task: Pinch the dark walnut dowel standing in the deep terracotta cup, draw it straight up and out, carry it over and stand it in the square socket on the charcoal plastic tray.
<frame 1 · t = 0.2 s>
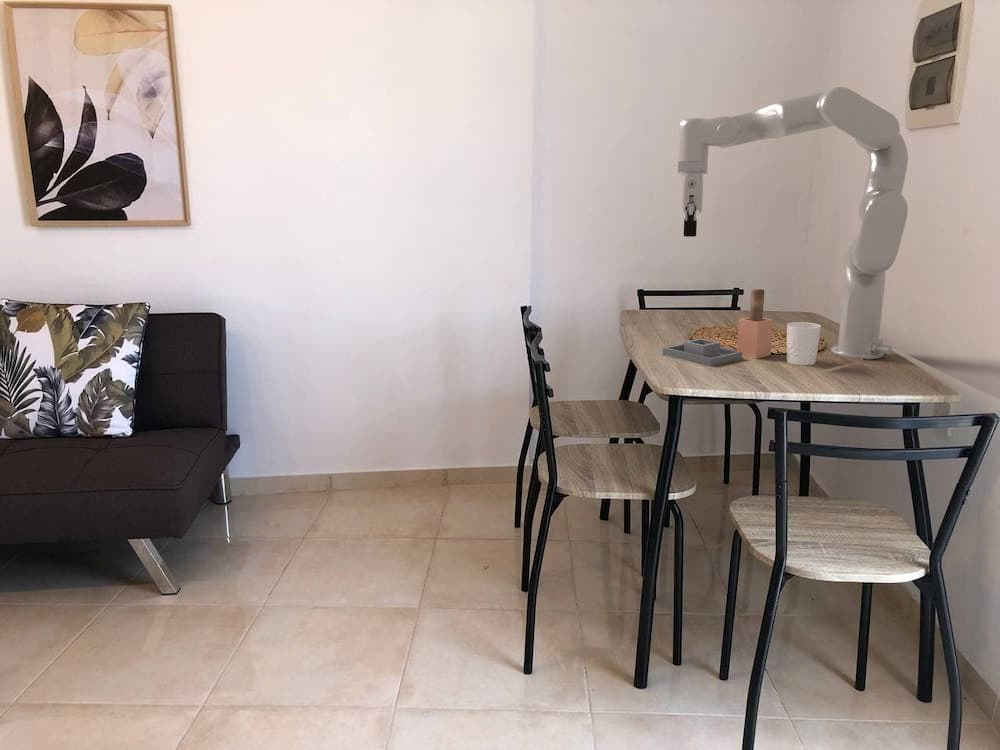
hand: (689, 234, 208), 31 cm above the table, tool pointing down, fingers open, 9 cm apart
white cup: (800, 364, 197), on the table
cup: (753, 356, 205), on the table
dowel: (753, 354, 205), point 1 cm above the table, touching cup
tray: (701, 358, 204), on the table
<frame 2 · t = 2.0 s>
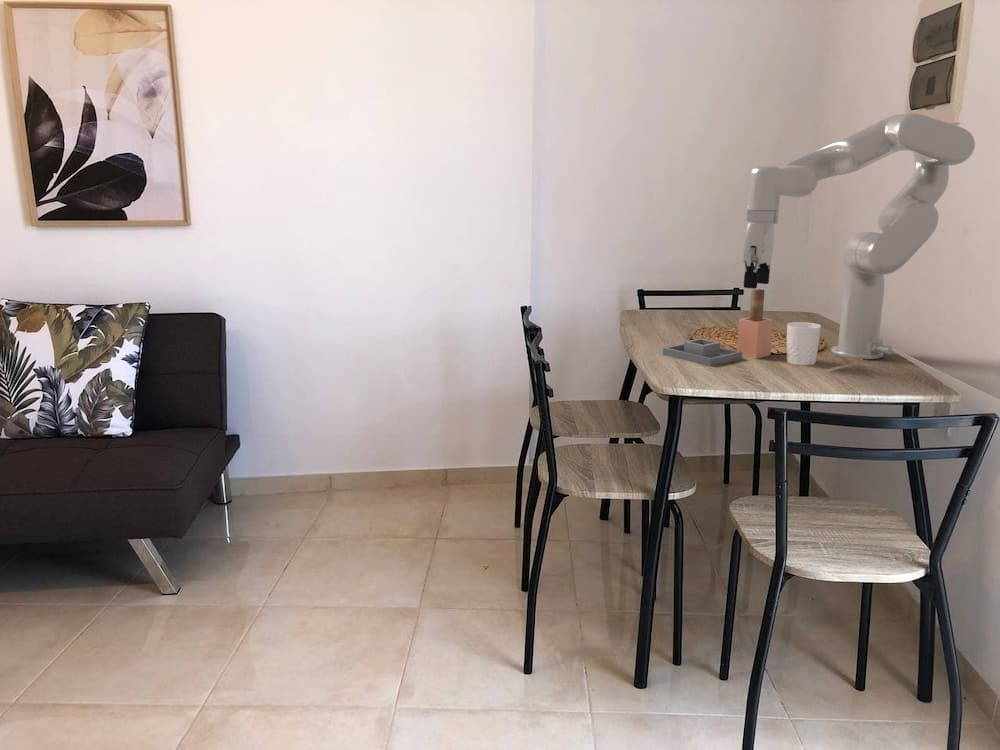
hand: (756, 285, 200), 19 cm above the table, tool pointing down, fingers open, 9 cm apart
nothing on the table moved.
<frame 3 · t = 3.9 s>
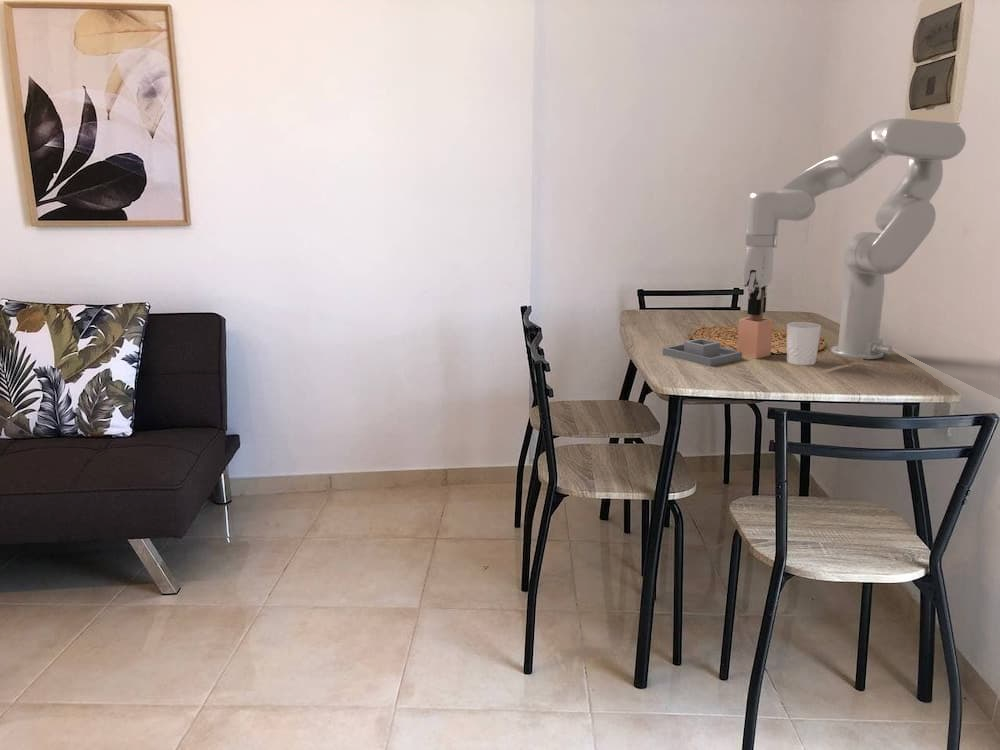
hand: (756, 312, 202), 12 cm above the table, tool pointing down, fingers closed on dowel, 3 cm apart
dowel: (753, 354, 205), point 1 cm above the table, touching cup, gripper
everything else where it was.
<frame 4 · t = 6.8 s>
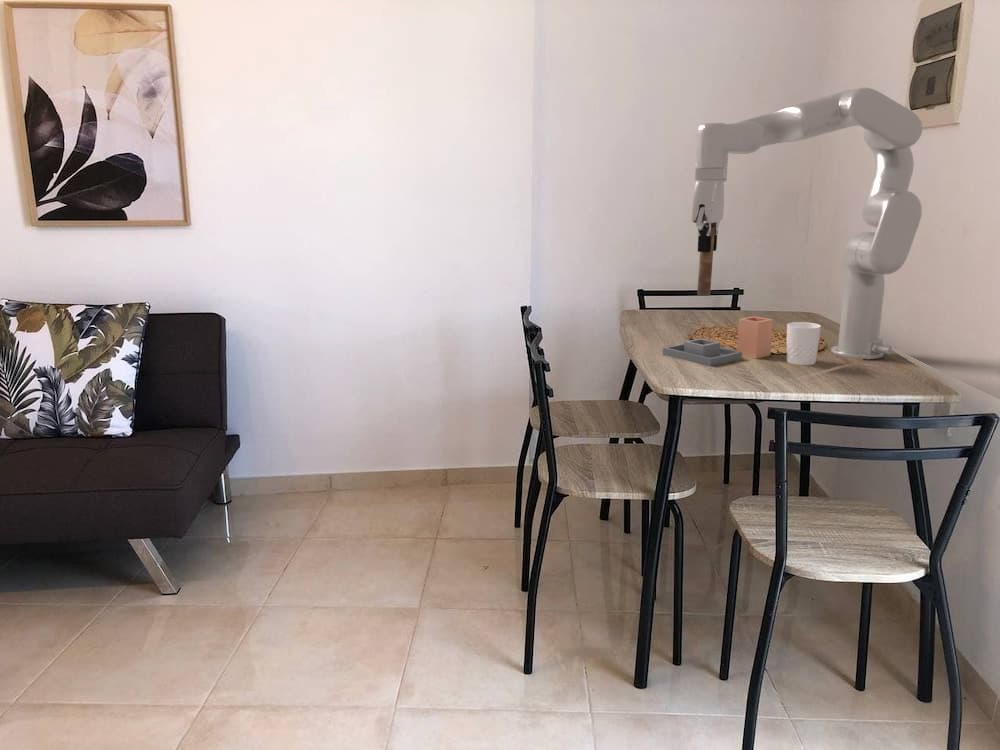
hand: (707, 250, 197), 28 cm above the table, tool pointing down, fingers closed on dowel, 3 cm apart
dowel: (703, 294, 200), point 17 cm above the table, touching gripper
everything else where it was.
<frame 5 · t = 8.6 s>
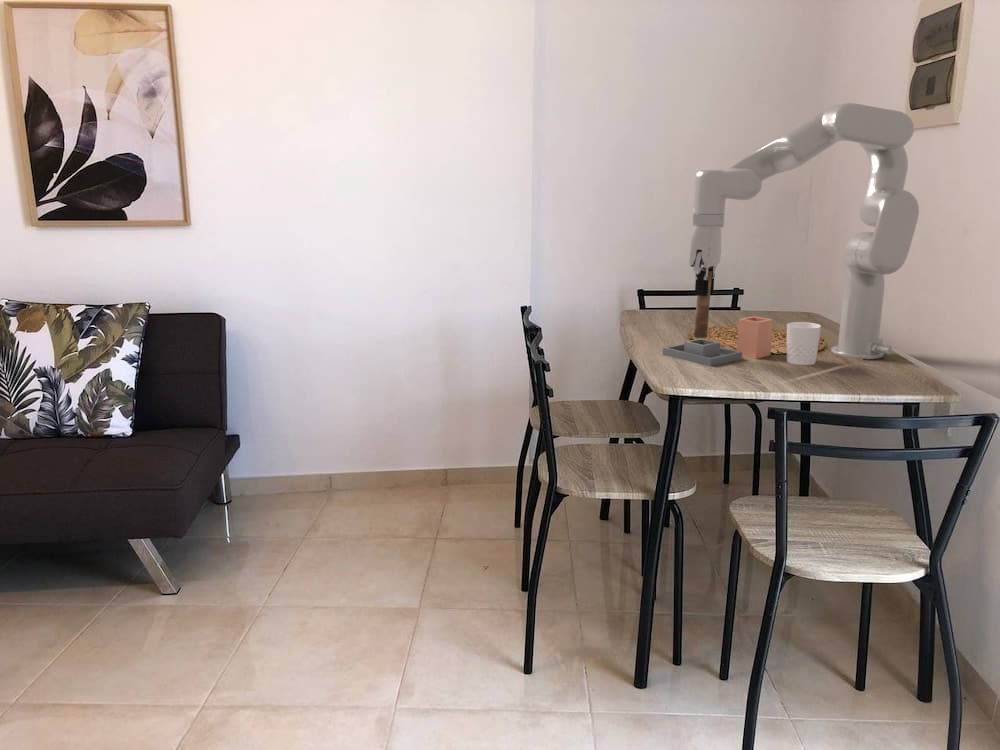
hand: (704, 293, 199), 17 cm above the table, tool pointing down, fingers closed on dowel, 3 cm apart
dowel: (700, 336, 203), point 6 cm above the table, touching gripper
everything else where it was.
when the fingers open (14 cm above the table, at t = 10.0 s): dowel drops 1 cm, resting on tray.
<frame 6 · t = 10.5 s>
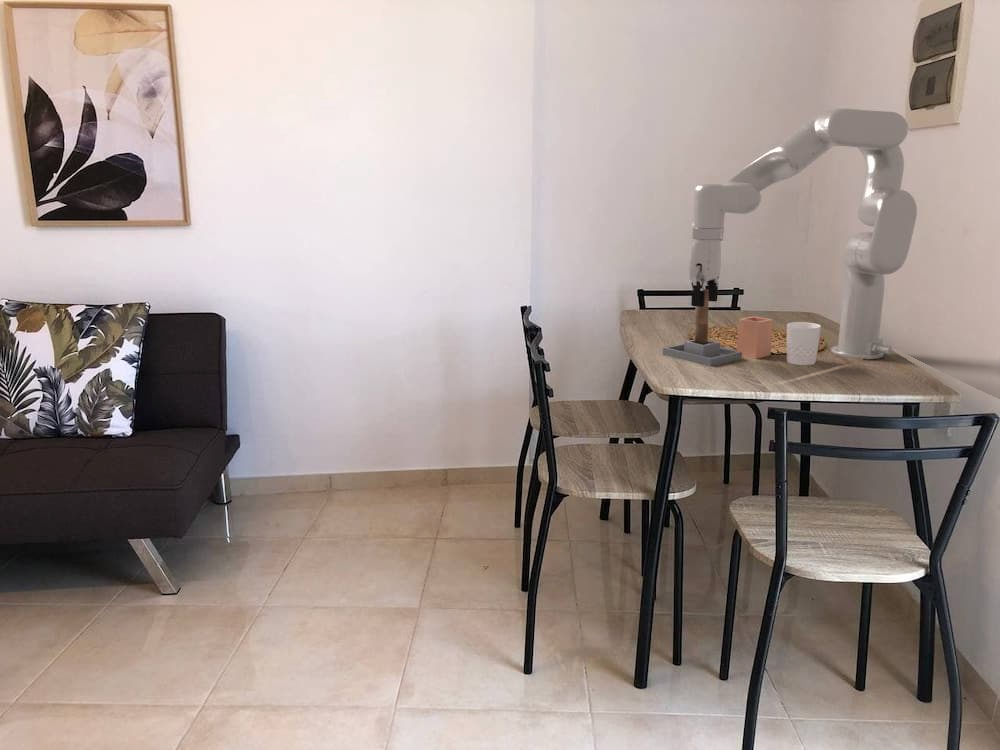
hand: (704, 303, 200), 15 cm above the table, tool pointing down, fingers open, 8 cm apart
dowel: (700, 354, 204), point 1 cm above the table, touching tray
everything else where it was.
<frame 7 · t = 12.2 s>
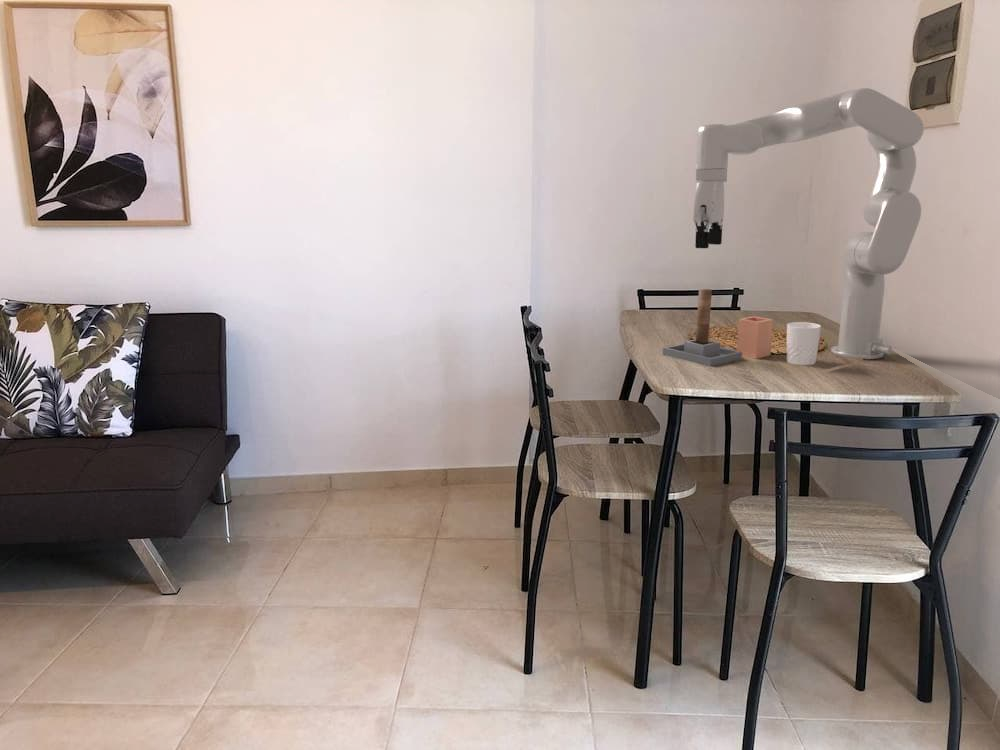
hand: (708, 246, 199), 29 cm above the table, tool pointing down, fingers open, 9 cm apart
nothing on the table moved.
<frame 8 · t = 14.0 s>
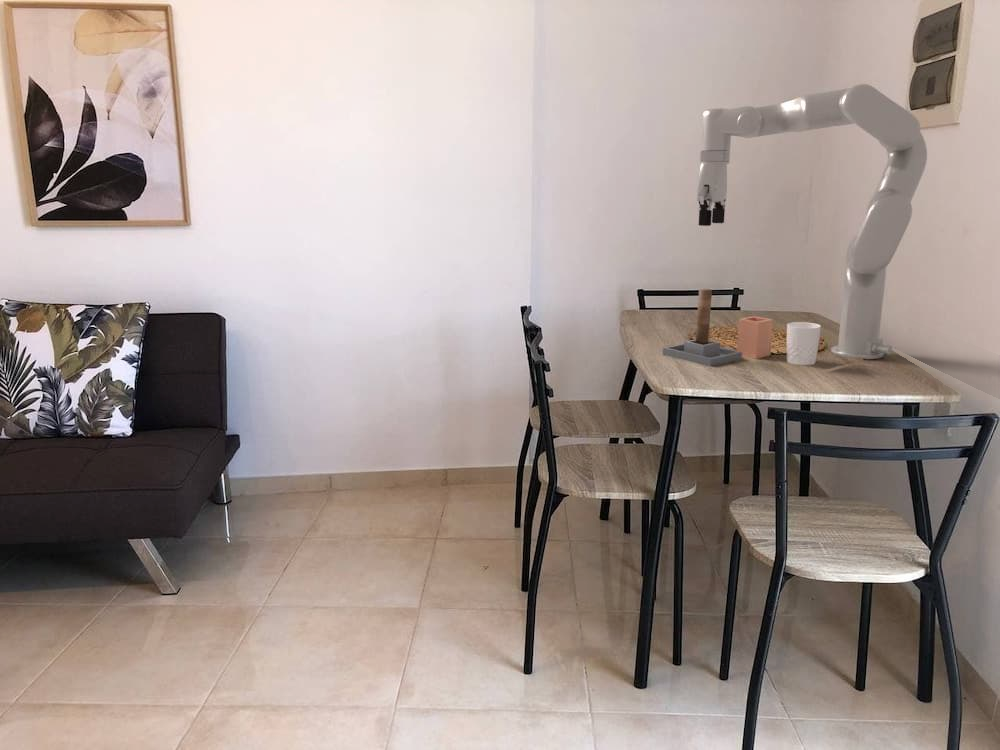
hand: (711, 224, 210), 33 cm above the table, tool pointing down, fingers open, 9 cm apart
nothing on the table moved.
at the end: dowel 0.2 cm off-centre on the tray, point 1.0 cm above the tray's base; dowel tilted 1°; the gripper is holding nothing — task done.
